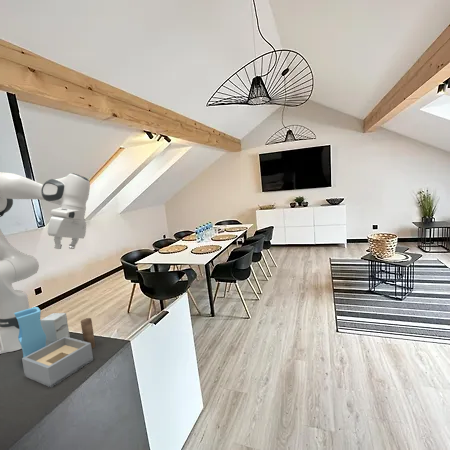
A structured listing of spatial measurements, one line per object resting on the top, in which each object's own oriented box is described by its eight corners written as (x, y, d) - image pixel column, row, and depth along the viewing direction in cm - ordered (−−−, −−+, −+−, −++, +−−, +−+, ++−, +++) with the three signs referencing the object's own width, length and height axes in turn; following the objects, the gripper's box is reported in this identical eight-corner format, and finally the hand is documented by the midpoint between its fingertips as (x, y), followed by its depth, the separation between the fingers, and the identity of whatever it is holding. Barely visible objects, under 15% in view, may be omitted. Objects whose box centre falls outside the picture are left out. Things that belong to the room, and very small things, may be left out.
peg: (82, 348, 115) (78, 321, 114) (91, 343, 118) (87, 317, 117) (89, 350, 113) (84, 323, 112) (97, 345, 117) (93, 318, 115)
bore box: (25, 376, 99) (21, 358, 98) (67, 352, 113) (65, 336, 112) (51, 387, 92) (47, 368, 91) (93, 360, 106) (90, 343, 105)
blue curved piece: (22, 360, 110) (13, 313, 108) (45, 351, 115) (37, 306, 113) (25, 368, 104) (16, 318, 102) (49, 358, 110) (41, 310, 108)
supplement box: (57, 348, 117) (53, 320, 116) (43, 348, 119) (38, 320, 117) (70, 339, 124) (66, 312, 123) (57, 338, 126) (52, 312, 124)
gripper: (78, 216, 120) (71, 247, 119) (48, 209, 100) (39, 247, 98) (92, 218, 120) (86, 249, 119) (65, 212, 99) (57, 250, 98)
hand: (65, 248), depth 108 cm, fingers open, 8 cm apart
